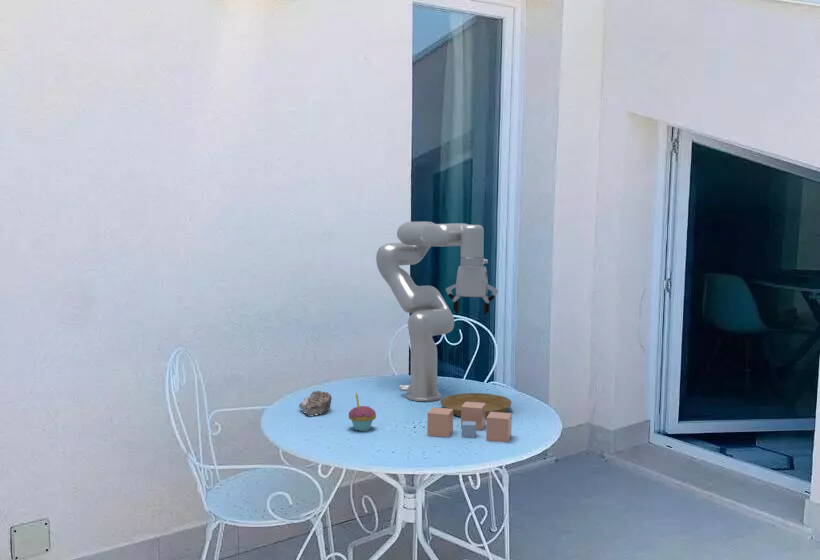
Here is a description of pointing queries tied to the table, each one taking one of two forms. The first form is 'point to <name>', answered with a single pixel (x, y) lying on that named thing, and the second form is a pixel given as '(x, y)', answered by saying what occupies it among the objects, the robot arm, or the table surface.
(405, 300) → the robot arm
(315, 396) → the seashell
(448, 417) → the peach toy brick
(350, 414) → the cupcake
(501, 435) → the salmon orange block
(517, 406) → the table surface
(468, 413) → the toy block
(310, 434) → the table surface
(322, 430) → the table surface
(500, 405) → the plant saucer
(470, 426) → the cube
